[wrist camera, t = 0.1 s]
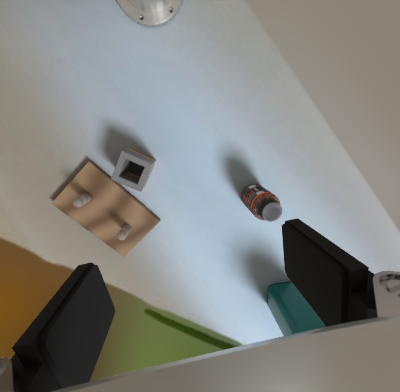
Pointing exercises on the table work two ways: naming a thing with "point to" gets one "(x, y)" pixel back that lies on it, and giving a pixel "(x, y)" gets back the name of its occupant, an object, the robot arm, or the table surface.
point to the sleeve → (129, 178)
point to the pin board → (105, 209)
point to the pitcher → (292, 309)
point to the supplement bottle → (261, 203)
